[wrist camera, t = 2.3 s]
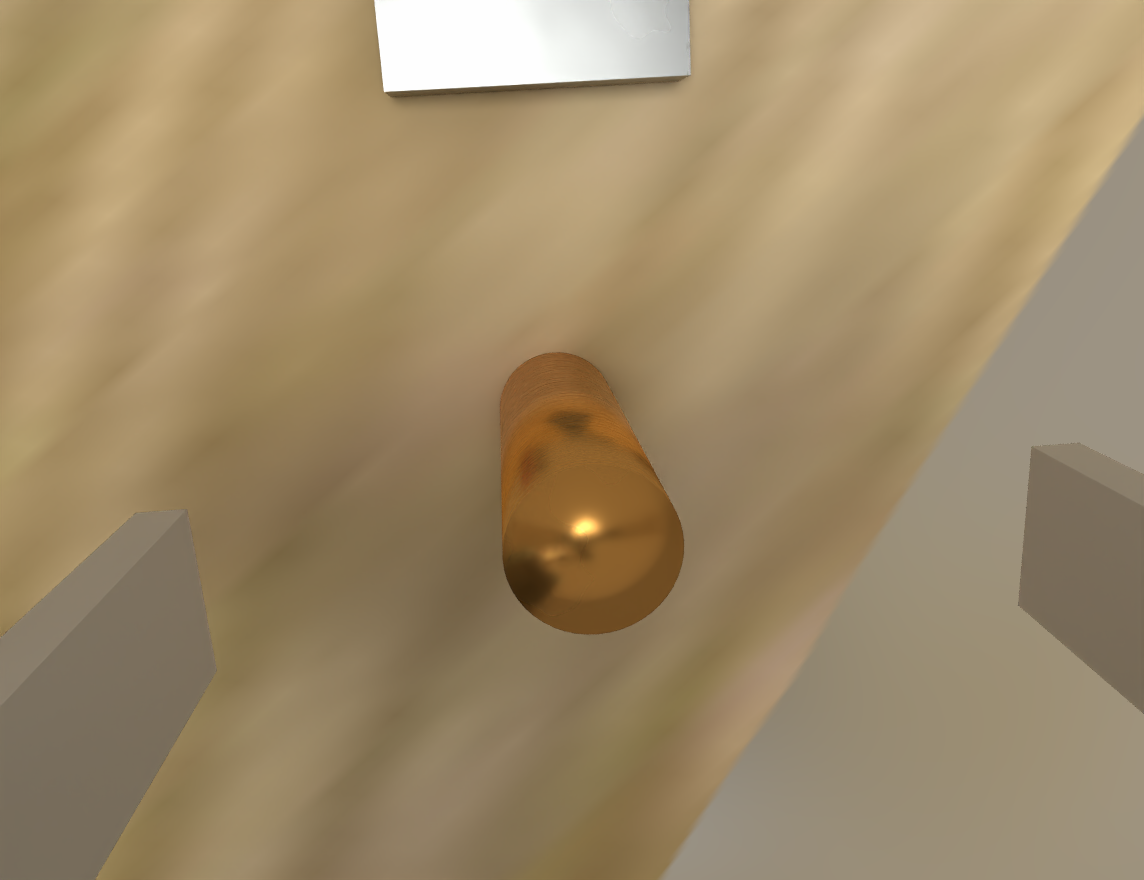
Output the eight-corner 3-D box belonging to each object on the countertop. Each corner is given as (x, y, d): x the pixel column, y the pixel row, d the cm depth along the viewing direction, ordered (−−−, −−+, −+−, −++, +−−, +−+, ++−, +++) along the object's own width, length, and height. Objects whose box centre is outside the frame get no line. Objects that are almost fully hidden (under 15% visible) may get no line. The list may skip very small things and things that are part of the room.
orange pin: (614, 457, 26) (686, 626, 16) (504, 465, 25) (509, 642, 16) (609, 348, 25) (681, 457, 15) (495, 356, 25) (495, 472, 15)
